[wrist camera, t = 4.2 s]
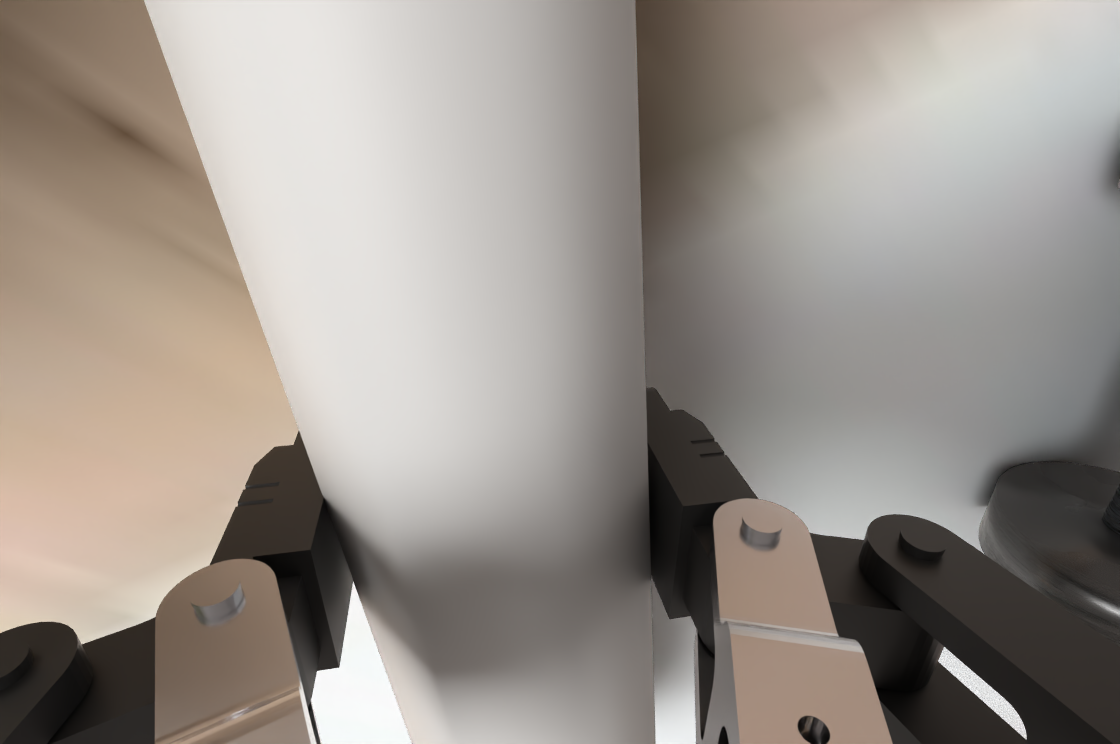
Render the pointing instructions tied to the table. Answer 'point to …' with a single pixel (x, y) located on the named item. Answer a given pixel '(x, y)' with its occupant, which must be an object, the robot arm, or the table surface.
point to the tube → (453, 330)
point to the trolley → (1060, 536)
